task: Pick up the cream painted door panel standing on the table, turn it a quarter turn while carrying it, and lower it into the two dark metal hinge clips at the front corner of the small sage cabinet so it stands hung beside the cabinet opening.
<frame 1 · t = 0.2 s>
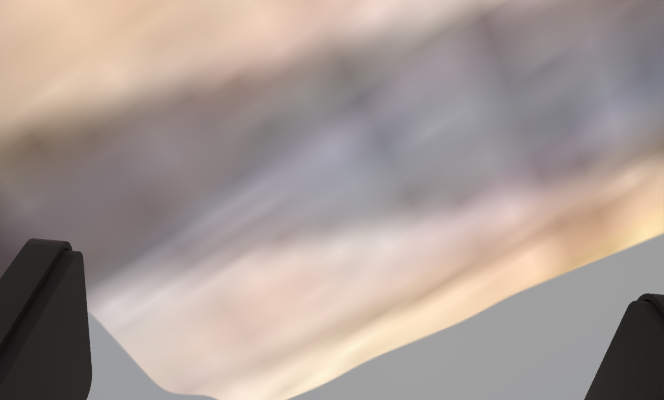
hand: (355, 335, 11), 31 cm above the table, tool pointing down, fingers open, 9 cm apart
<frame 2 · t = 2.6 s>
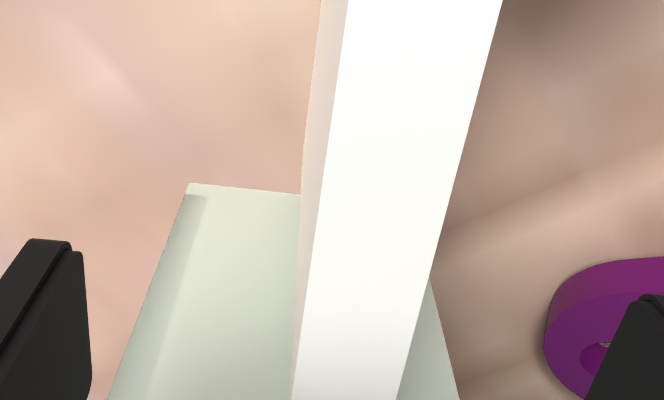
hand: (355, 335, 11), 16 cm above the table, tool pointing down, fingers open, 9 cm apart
cabinet: (287, 313, 31), on the table
door: (347, 43, 24), on the table
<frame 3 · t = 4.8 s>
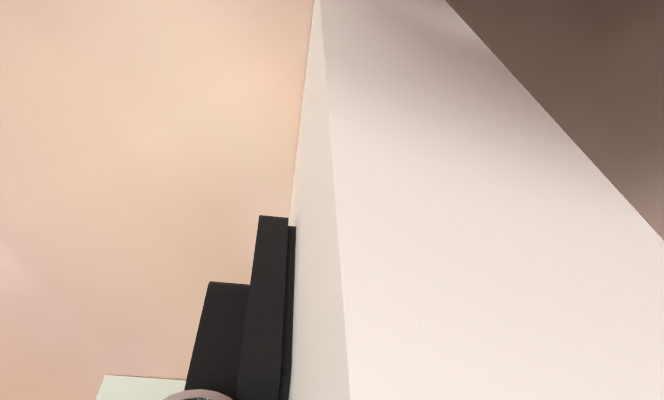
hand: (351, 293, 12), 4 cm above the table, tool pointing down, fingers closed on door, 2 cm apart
door: (341, 187, 15), on the table, touching gripper
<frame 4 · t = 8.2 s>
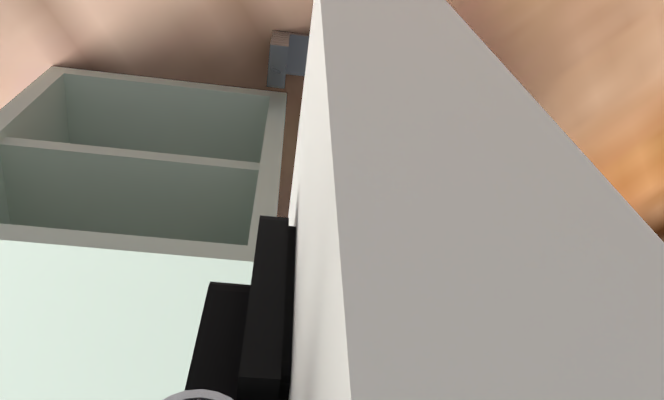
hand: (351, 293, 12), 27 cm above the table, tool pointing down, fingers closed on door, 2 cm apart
cabinet: (171, 154, 40), on the table
door: (340, 178, 16), point 22 cm above the table, touching gripper
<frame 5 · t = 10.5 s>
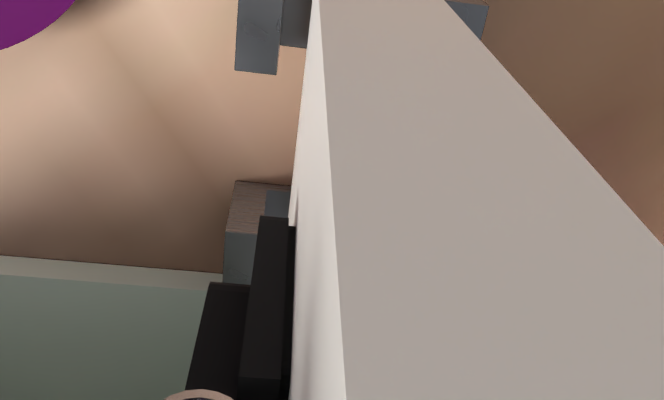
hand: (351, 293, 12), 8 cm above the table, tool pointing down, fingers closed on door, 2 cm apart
hinge clips: (329, 122, 19), on the table
cabinet: (67, 368, 23), on the table
door: (339, 171, 16), point 3 cm above the table, touching gripper
when the fingers open (6 cm above the table, at t = 11.7 s): door stays where it is, resting on hinge clips.
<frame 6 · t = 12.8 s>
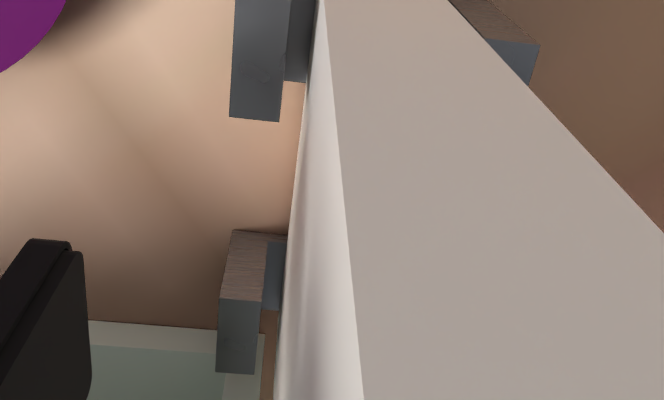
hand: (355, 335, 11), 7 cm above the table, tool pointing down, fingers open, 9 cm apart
hinge clips: (340, 166, 16), on the table
door: (342, 173, 16), resting on hinge clips
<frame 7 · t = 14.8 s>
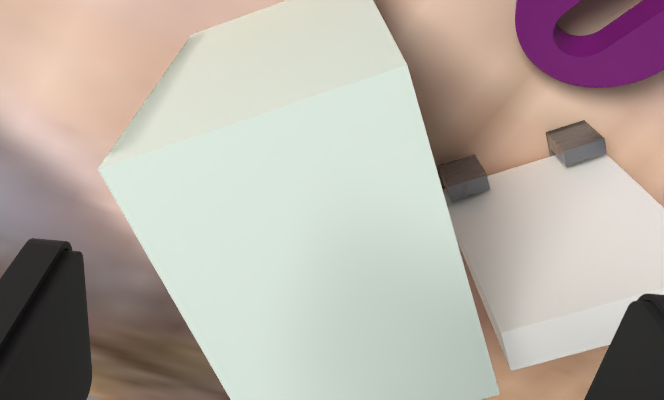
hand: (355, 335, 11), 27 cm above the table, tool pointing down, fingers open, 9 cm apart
hinge clips: (517, 179, 40), on the table
cabinet: (315, 116, 38), on the table
door: (519, 182, 40), resting on hinge clips
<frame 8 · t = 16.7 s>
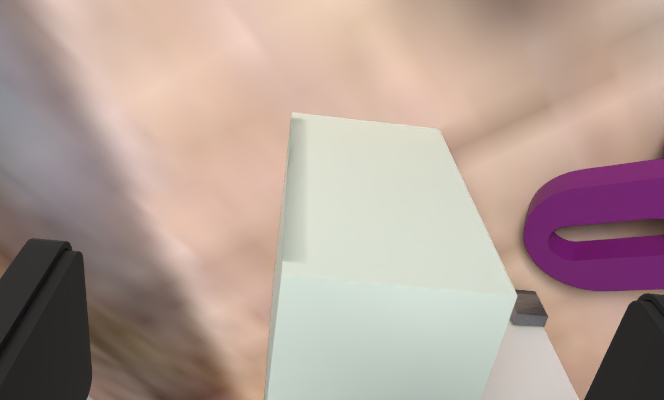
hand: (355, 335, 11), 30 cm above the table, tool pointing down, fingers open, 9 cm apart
hinge clips: (469, 313, 50), on the table
cabinet: (350, 209, 45), on the table
mounting bracket: (640, 186, 45), on the table
door: (470, 316, 49), resting on hinge clips
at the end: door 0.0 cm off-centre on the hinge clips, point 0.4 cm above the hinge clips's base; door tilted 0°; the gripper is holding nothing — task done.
